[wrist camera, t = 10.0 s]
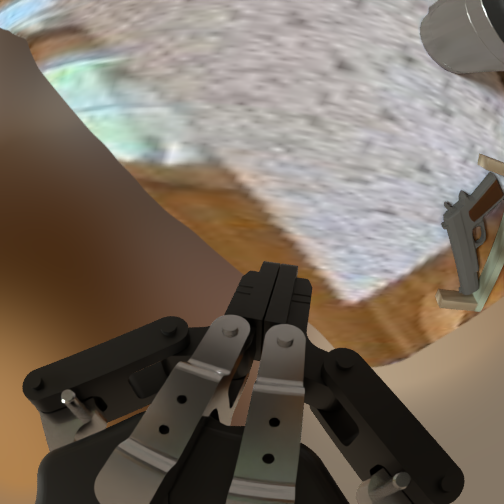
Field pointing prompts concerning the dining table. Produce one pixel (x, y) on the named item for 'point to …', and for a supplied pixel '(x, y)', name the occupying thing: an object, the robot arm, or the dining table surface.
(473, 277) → the handgun
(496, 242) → the bay
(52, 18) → the dining table surface
